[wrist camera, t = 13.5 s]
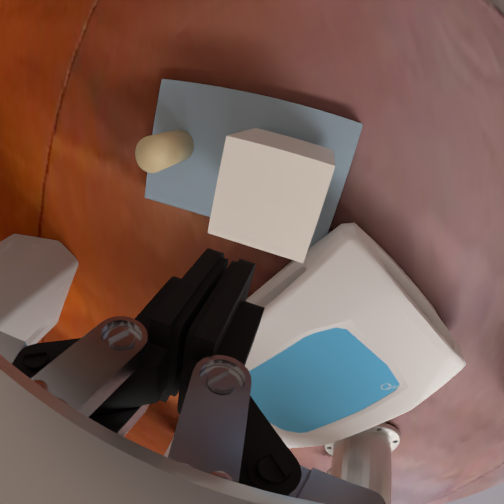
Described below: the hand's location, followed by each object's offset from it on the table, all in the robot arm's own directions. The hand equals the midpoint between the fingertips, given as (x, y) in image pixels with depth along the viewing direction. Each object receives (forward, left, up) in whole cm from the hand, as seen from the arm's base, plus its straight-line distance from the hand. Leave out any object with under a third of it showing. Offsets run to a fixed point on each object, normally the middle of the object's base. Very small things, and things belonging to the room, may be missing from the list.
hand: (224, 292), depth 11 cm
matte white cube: (0, 0, -17) cm, 17 cm away
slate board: (0, +4, -19) cm, 20 cm away
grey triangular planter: (-24, +35, -19) cm, 47 cm away
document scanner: (-18, -8, -19) cm, 28 cm away
